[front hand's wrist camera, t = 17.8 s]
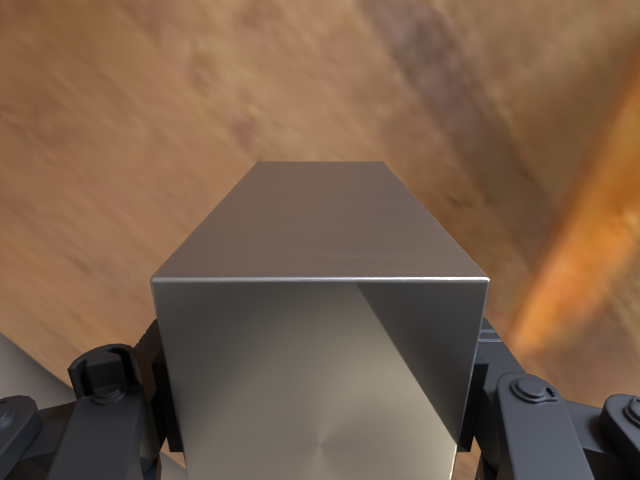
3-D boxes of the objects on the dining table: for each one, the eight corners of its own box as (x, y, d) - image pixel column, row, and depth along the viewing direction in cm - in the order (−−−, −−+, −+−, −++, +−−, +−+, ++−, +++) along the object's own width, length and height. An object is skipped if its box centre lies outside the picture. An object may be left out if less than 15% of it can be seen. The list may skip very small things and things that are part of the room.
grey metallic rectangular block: (266, 307, 20) (202, 558, 9) (256, 161, 17) (147, 278, 6) (374, 307, 20) (437, 558, 9) (383, 161, 17) (492, 279, 6)
